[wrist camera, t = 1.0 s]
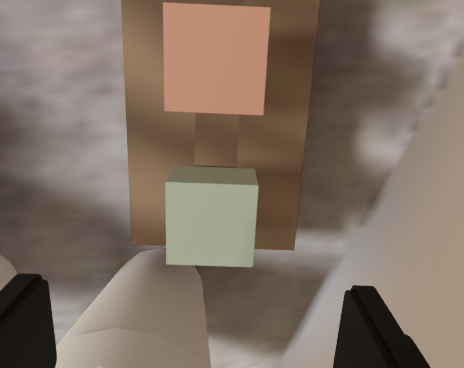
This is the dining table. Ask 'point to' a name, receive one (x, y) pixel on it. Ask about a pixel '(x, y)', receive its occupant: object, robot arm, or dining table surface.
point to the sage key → (211, 216)
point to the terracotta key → (215, 58)
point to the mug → (6, 271)
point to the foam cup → (142, 320)
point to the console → (219, 121)
